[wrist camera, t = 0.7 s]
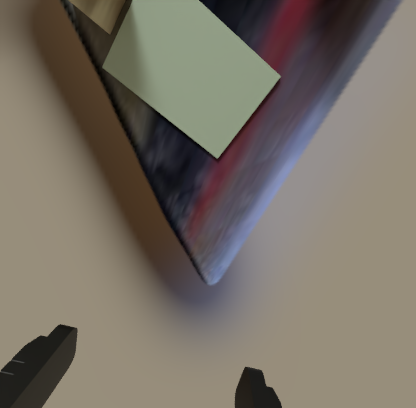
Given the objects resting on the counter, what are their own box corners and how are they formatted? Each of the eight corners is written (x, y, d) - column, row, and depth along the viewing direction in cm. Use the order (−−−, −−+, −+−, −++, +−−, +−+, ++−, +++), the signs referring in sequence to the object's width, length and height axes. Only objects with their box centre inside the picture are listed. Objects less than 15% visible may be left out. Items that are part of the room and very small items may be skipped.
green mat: (154, -39, 21) (152, -43, 21) (279, 77, 24) (280, 76, 24) (104, 68, 25) (102, 67, 25) (217, 158, 28) (217, 158, 27)
